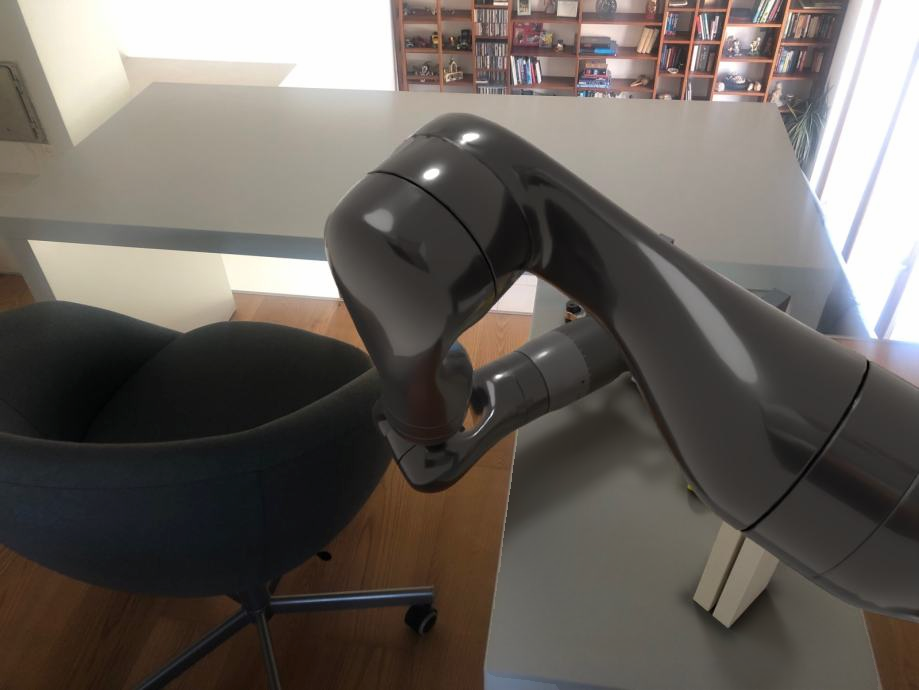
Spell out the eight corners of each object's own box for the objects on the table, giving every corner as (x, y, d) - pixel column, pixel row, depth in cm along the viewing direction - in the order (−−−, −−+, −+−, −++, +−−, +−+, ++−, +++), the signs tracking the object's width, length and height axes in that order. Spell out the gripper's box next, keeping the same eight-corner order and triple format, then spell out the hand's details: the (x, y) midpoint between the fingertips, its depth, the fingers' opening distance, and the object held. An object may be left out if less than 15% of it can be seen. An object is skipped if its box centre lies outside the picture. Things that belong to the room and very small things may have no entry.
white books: (766, 586, 62) (811, 498, 54) (727, 628, 59) (769, 542, 51) (731, 560, 64) (769, 470, 56) (692, 599, 61) (726, 511, 53)
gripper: (615, 378, 63) (735, 315, 70) (521, 301, 72) (634, 252, 79) (606, 434, 68) (718, 370, 75) (518, 355, 77) (625, 304, 84)
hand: (675, 309), depth 77 cm, fingers open, 8 cm apart
